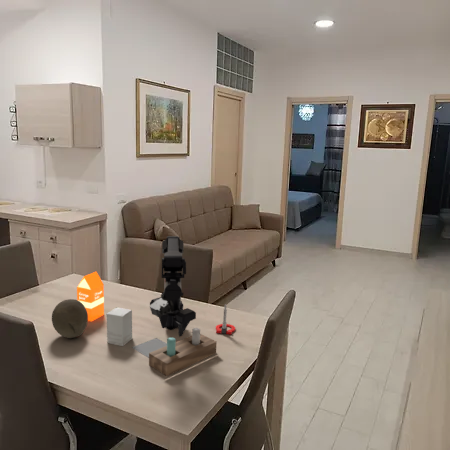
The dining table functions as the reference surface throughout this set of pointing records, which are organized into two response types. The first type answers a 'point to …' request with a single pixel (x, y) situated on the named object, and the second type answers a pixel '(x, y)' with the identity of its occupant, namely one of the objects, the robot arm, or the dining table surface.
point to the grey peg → (195, 336)
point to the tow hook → (225, 325)
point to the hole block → (182, 355)
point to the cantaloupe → (70, 318)
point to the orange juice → (92, 295)
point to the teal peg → (171, 346)
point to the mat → (150, 346)
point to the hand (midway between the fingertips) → (171, 331)
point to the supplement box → (119, 326)
